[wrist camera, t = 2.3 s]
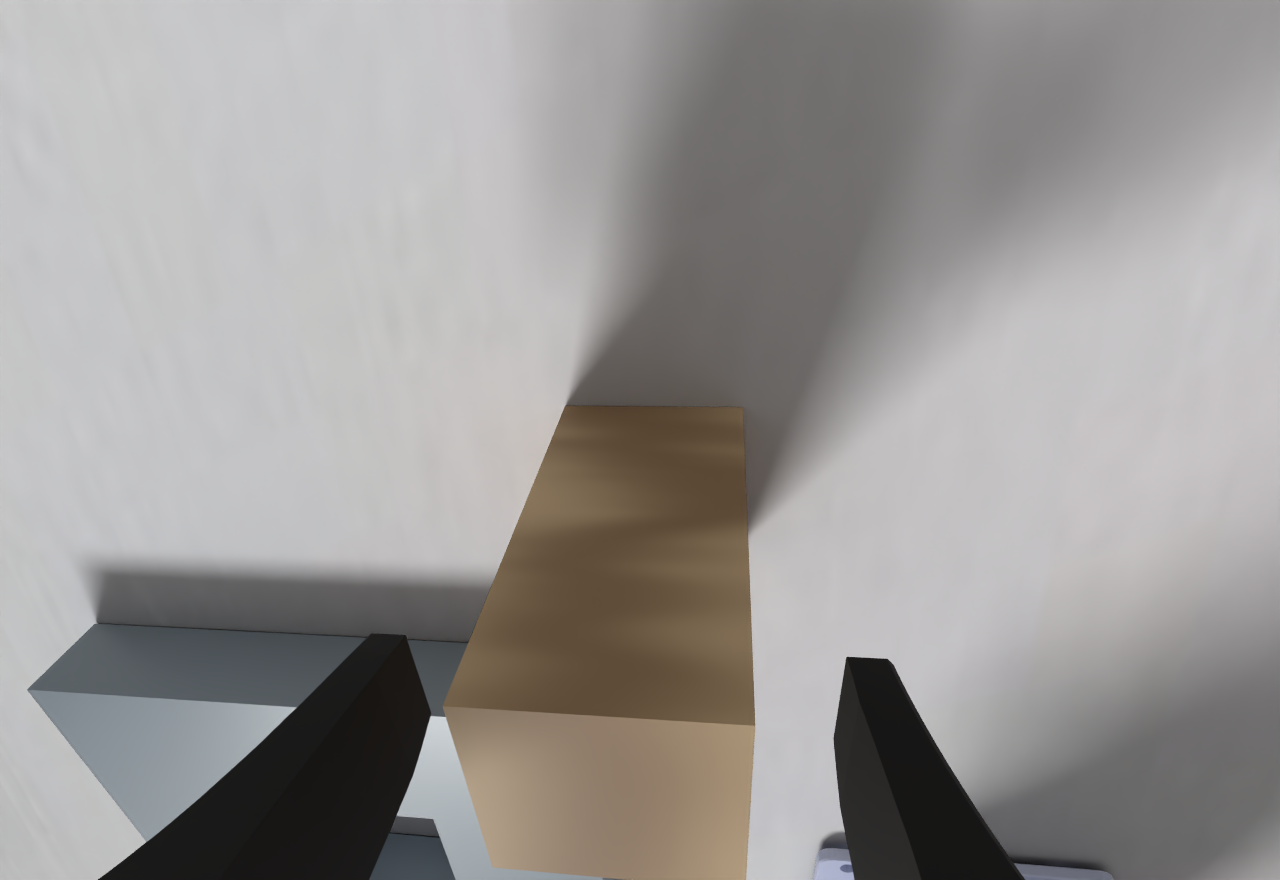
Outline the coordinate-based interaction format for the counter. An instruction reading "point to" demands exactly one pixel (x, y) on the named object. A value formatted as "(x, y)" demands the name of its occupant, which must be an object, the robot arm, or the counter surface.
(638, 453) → the peg
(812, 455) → the counter surface
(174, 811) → the socket block
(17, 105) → the counter surface
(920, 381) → the counter surface
